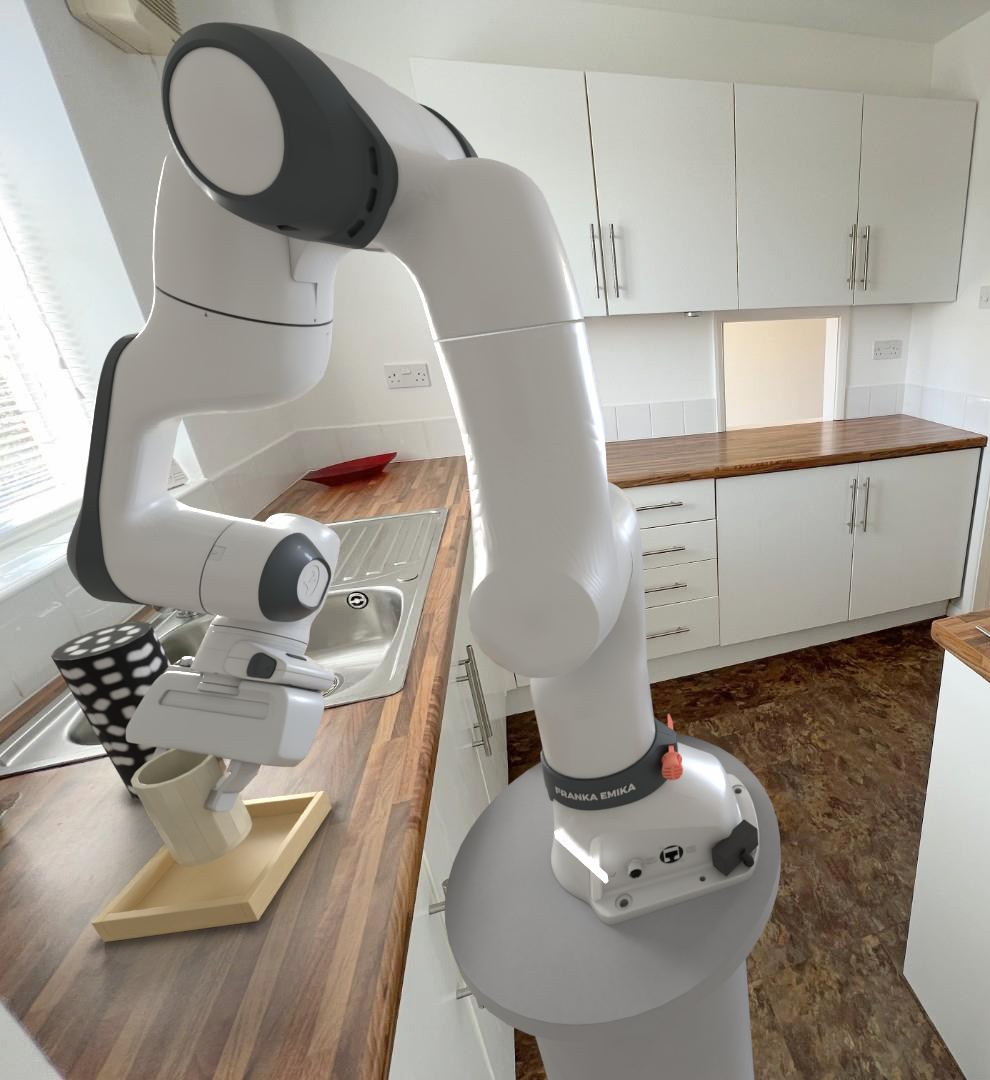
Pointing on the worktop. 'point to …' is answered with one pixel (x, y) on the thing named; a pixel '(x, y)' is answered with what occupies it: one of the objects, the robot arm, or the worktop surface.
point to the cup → (190, 806)
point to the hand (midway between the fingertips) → (187, 804)
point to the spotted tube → (114, 686)
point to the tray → (218, 875)
